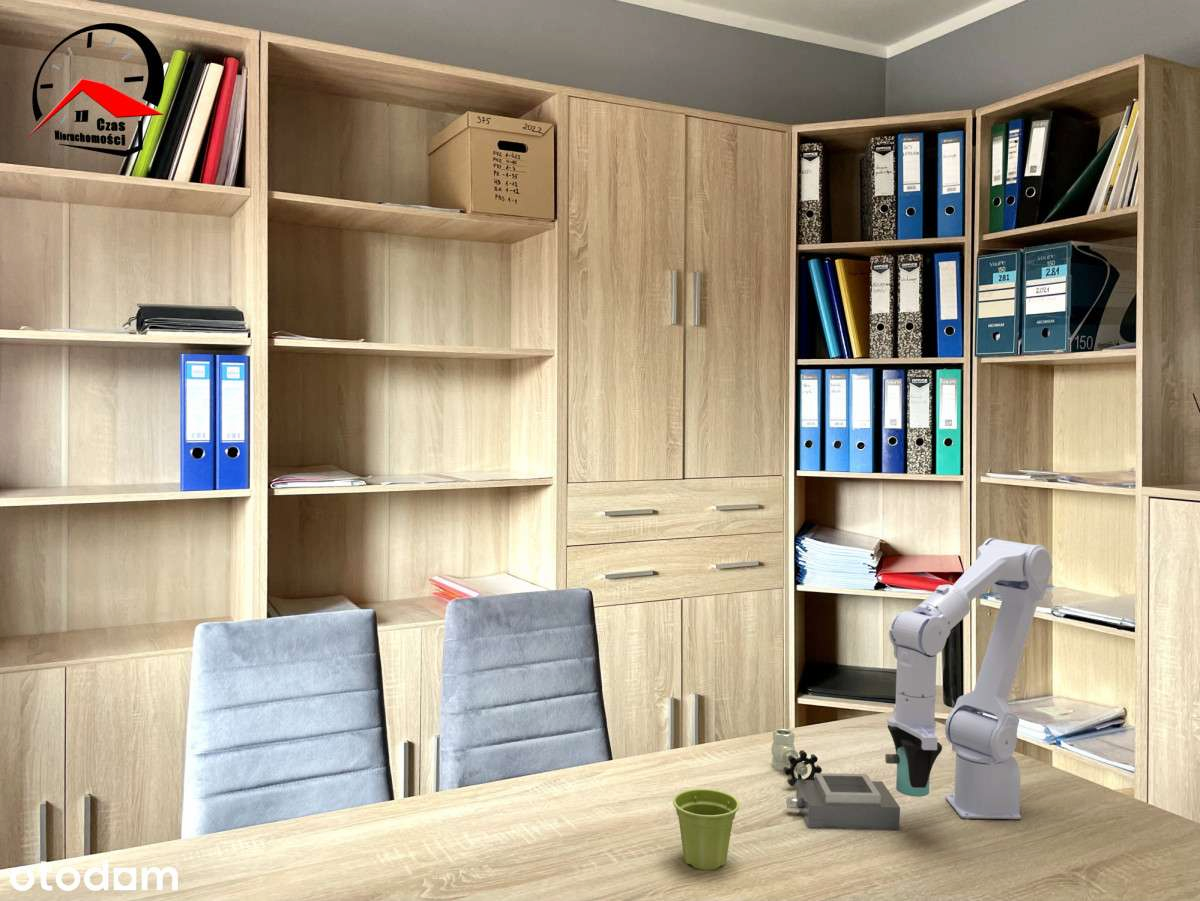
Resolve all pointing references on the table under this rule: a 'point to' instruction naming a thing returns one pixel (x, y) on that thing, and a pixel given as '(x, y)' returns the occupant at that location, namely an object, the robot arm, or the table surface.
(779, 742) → the valve
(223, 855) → the table surface
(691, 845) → the plant pot
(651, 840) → the table surface
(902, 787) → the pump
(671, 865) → the table surface
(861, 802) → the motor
